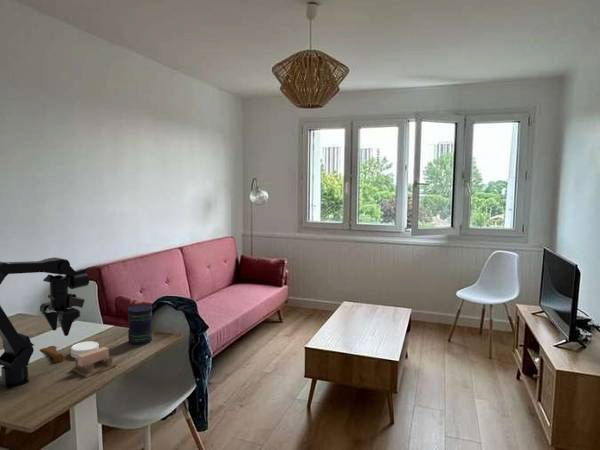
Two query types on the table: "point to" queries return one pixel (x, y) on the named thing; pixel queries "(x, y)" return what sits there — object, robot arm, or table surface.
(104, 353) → the pinkish tan rectangular block
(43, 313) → the robot arm
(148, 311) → the storage jar
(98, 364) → the tan two-rail tray
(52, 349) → the primitive tool
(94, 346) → the coaster
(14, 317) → the table surface
